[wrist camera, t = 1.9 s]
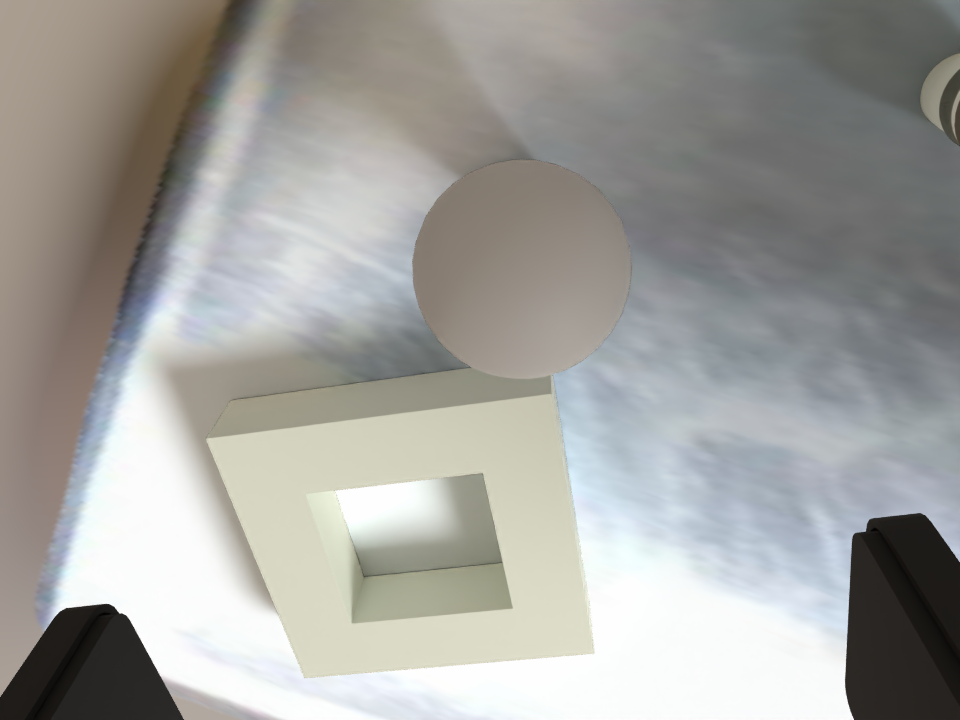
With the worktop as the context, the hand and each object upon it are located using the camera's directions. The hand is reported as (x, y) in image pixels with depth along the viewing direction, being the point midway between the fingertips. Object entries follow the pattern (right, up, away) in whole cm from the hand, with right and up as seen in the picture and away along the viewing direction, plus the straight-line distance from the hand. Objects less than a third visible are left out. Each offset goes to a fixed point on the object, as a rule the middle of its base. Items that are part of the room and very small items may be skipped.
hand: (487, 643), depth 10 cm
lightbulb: (+2, +10, +19) cm, 22 cm away
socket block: (-3, -3, +26) cm, 26 cm away
